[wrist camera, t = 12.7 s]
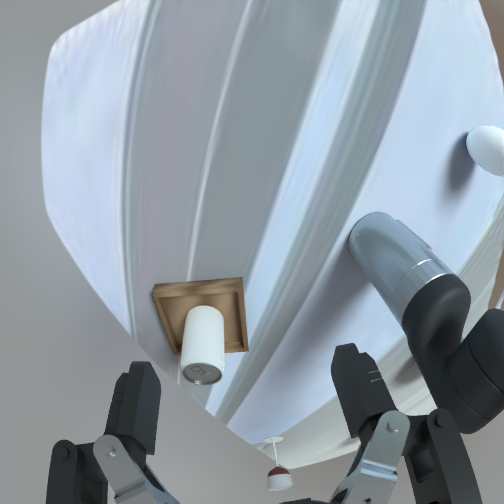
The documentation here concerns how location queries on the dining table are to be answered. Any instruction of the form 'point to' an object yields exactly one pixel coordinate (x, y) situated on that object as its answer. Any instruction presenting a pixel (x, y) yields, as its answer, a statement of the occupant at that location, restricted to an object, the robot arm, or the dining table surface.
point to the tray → (196, 294)
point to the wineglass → (278, 471)
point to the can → (203, 346)
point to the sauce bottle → (487, 148)
